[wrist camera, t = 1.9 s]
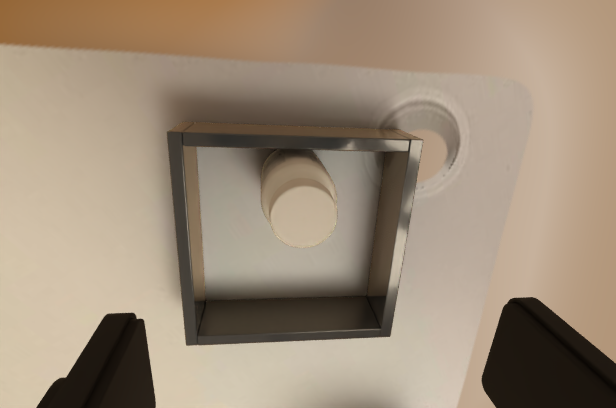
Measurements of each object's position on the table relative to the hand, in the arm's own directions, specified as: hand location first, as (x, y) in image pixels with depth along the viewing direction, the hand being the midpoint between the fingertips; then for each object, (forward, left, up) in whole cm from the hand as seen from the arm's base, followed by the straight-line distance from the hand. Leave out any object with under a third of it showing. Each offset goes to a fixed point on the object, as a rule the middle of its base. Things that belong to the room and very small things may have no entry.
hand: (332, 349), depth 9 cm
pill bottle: (0, 0, -17) cm, 17 cm away
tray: (+1, +4, -17) cm, 17 cm away
